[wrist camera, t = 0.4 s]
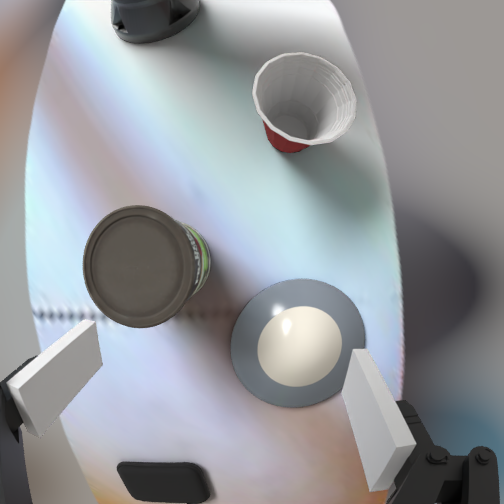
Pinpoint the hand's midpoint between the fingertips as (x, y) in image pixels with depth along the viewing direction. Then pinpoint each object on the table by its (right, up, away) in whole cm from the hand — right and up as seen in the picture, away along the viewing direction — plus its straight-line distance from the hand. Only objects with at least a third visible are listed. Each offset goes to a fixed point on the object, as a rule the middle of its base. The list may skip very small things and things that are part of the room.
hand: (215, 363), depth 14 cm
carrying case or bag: (-13, -33, +24) cm, 43 cm away
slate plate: (+8, -7, +25) cm, 27 cm away
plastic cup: (+7, +21, +25) cm, 33 cm away
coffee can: (-9, +4, +24) cm, 26 cm away
